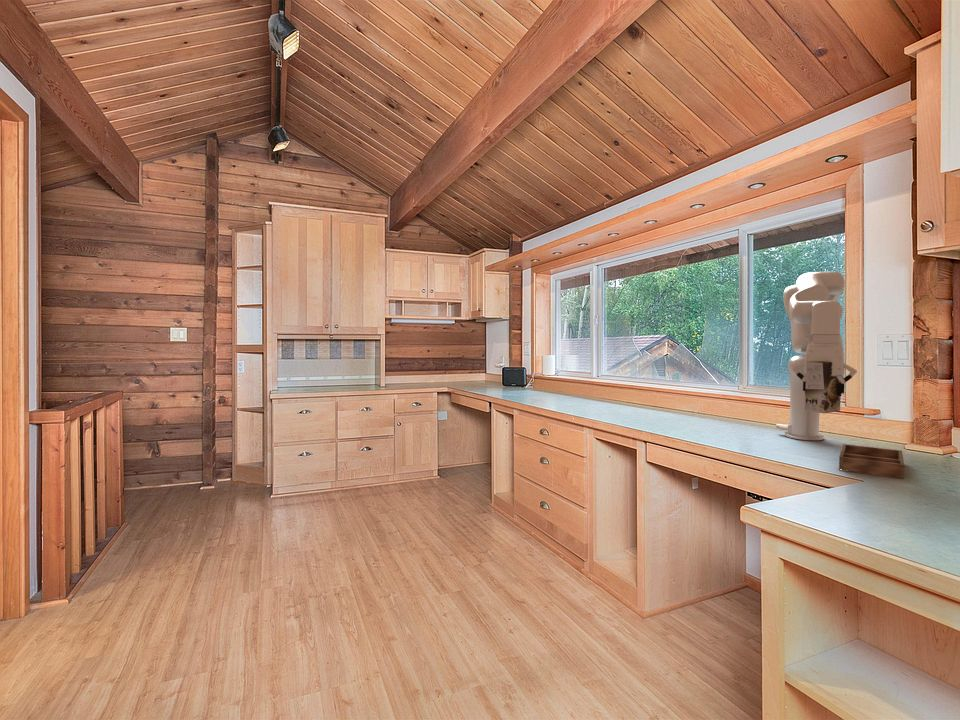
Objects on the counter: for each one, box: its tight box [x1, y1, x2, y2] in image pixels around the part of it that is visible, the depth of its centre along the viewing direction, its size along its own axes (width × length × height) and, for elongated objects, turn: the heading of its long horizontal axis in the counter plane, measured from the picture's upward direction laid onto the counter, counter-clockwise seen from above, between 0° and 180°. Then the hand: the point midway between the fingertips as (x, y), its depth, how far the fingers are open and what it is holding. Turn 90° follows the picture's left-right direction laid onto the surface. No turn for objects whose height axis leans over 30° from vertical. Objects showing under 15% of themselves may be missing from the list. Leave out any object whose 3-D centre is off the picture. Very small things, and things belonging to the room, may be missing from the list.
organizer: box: [838, 443, 905, 480], centre depth 149 cm, size 15×20×4 cm
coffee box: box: [805, 362, 842, 414], centre depth 157 cm, size 9×6×16 cm
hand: (823, 394), depth 158 cm, fingers closed on coffee box, 8 cm apart
